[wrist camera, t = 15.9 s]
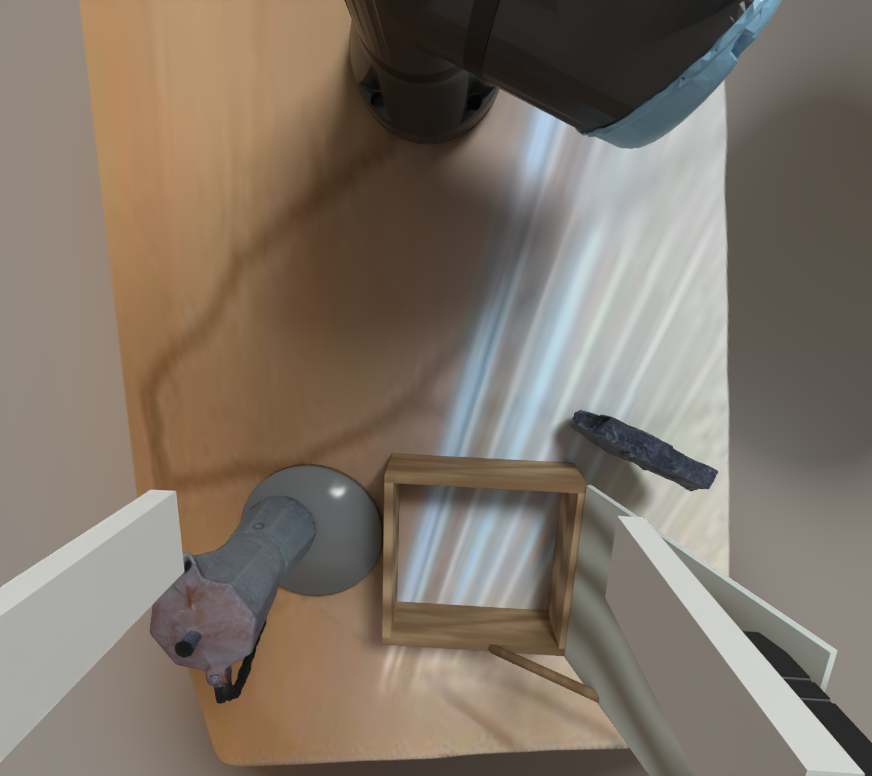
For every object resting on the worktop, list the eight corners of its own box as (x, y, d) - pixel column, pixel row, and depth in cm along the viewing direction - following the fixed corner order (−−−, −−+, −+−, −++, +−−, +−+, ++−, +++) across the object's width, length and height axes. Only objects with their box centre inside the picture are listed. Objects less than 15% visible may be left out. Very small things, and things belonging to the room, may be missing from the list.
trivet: (240, 460, 52) (236, 463, 51) (383, 468, 51) (382, 471, 50) (249, 585, 56) (245, 591, 55) (382, 594, 55) (380, 599, 54)
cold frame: (392, 453, 51) (329, 620, 25) (638, 466, 50) (840, 653, 24) (389, 607, 56) (334, 882, 30) (613, 621, 55) (759, 917, 29)
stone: (555, 445, 50) (580, 481, 40) (569, 397, 49) (599, 422, 39) (667, 469, 50) (720, 510, 40) (684, 422, 49) (743, 453, 39)
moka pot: (300, 465, 51) (208, 572, 31) (338, 573, 54) (275, 731, 34) (228, 482, 51) (93, 597, 32) (269, 587, 55) (169, 750, 35)
